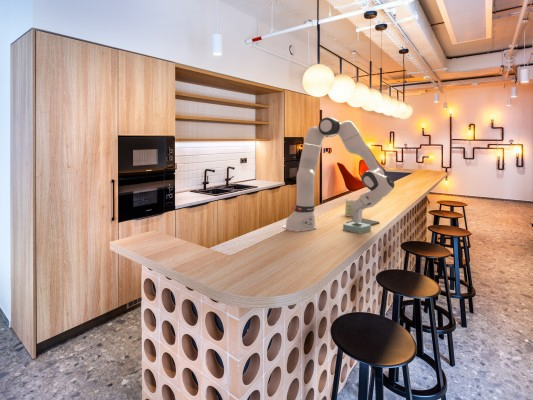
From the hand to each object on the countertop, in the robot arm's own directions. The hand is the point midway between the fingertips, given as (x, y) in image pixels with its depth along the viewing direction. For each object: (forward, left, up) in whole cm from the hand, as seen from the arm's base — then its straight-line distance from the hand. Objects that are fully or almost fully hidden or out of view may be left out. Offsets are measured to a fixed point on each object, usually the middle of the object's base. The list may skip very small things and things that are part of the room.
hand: (356, 211), depth 205 cm
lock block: (0, -1, -12) cm, 12 cm away
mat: (+17, +6, -12) cm, 22 cm away
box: (+31, +24, -12) cm, 41 cm away
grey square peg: (0, -1, -7) cm, 7 cm away
